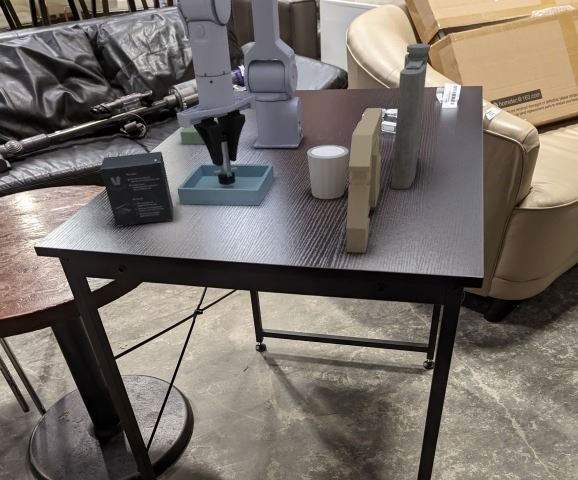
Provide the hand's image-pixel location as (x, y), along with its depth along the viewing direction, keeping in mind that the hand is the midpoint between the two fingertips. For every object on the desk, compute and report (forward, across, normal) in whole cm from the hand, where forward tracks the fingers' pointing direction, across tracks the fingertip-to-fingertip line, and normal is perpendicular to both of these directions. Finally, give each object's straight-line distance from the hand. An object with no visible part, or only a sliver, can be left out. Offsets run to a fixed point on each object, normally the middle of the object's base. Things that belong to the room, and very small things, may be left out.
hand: (224, 162), depth 91 cm
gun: (+5, -7, +26) cm, 27 cm away
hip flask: (+5, -26, +19) cm, 33 cm away
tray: (+5, 0, 0) cm, 5 cm away
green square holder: (+5, -17, -29) cm, 34 cm away
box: (+5, +16, -2) cm, 17 cm away
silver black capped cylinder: (+3, 0, 0) cm, 3 cm away
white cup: (+5, -11, +14) cm, 19 cm away
